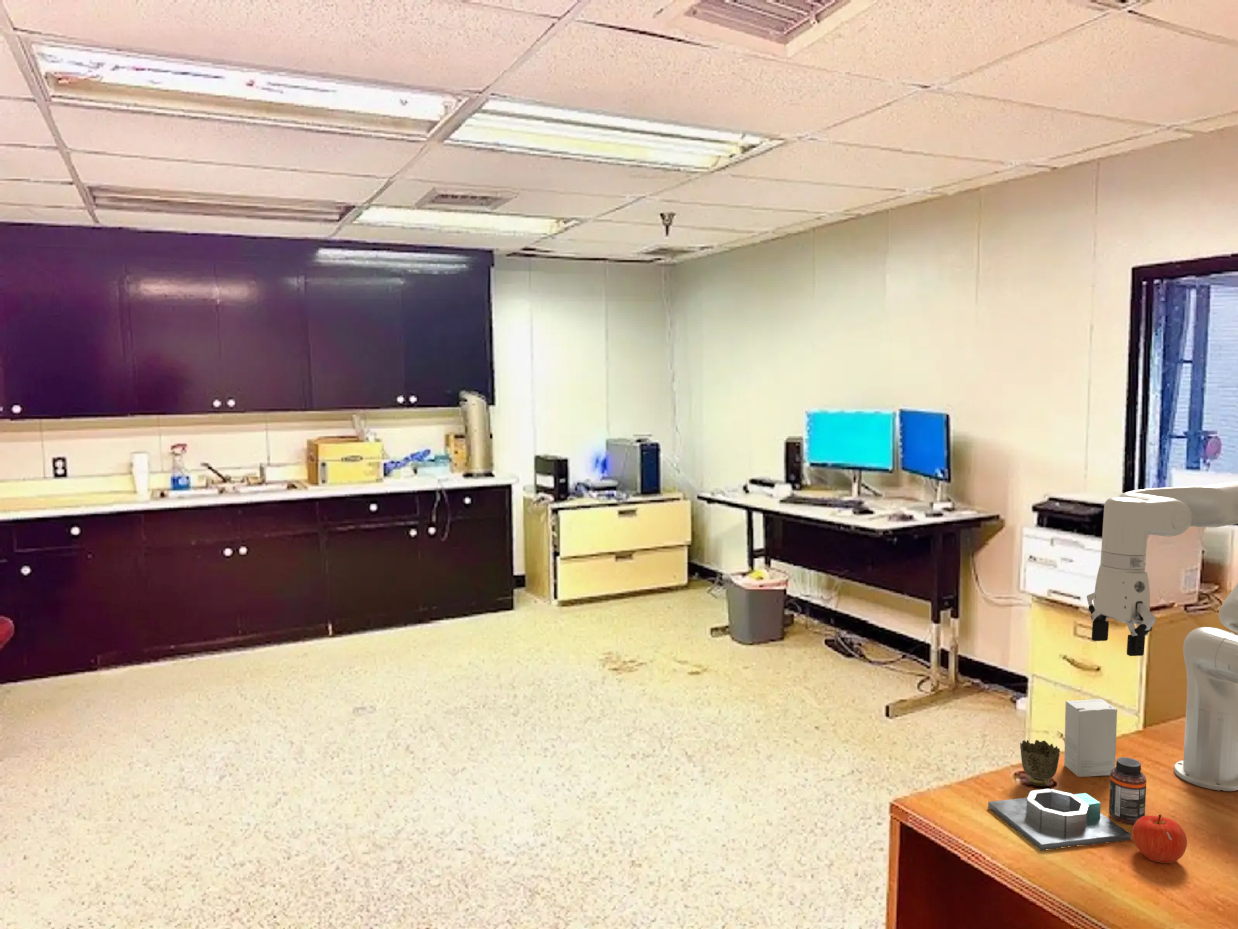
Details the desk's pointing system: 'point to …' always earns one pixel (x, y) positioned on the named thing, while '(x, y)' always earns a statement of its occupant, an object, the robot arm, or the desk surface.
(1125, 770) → the supplement bottle
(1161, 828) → the apple
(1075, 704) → the skincare box
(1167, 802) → the desk surface
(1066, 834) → the hub plate
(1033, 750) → the cup
